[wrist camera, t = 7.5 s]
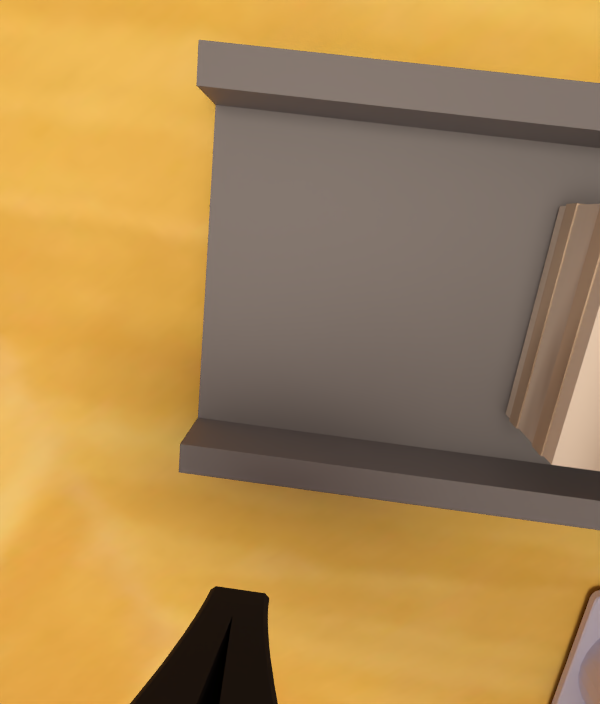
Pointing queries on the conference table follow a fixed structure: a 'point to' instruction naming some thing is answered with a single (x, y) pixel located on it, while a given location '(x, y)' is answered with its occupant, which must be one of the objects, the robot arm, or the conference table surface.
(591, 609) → the robot arm
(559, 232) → the tan layered slab
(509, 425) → the bay
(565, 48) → the conference table surface
